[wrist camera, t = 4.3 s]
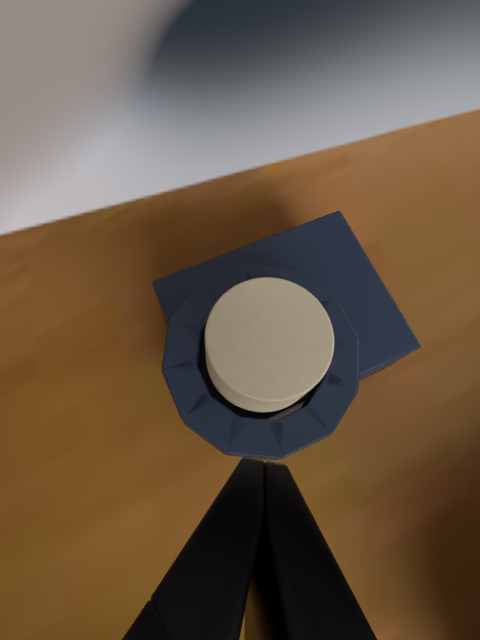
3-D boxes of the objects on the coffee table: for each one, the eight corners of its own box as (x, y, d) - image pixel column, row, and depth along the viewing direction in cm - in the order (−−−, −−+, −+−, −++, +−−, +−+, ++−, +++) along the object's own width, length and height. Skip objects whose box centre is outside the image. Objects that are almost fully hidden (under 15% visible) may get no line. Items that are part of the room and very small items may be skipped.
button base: (211, 486, 19) (211, 493, 14) (144, 322, 22) (120, 269, 16) (399, 395, 21) (466, 368, 15) (318, 253, 23) (352, 184, 18)
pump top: (233, 432, 15) (237, 424, 12) (188, 329, 16) (184, 303, 13) (336, 384, 15) (358, 368, 13) (286, 289, 17) (298, 259, 14)
